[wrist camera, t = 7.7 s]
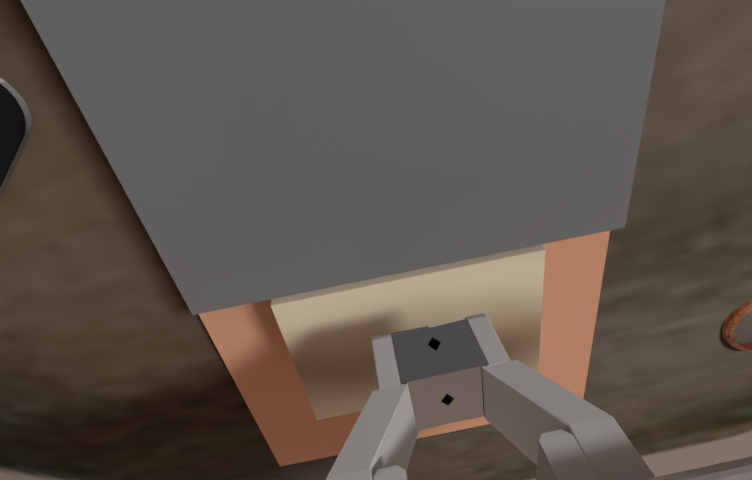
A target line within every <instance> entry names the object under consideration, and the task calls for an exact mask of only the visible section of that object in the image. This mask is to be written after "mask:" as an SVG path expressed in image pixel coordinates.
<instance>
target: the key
mask: <svg viewBox="0 0 752 480" xmlns="http://www.w3.org/2000/svg"><path fill="white" fill-rule="evenodd" d="M750 312H752V300H751V301H749V302H747V303H745V304H743V305H741V306H739V307H738V308H737V309H735V310H734V311H733V312H732V313H731V314H730V315H729V316H728V317H727V319H726V320H725V322H724V324H723V327H722V335H723V338H724V339H725V341H726V342H727V343H728V344H729V345H731V346H732V347H734V348H736V349H739V350H742V351H748V352H752V343H749V344H741V343H737V342H736V341H735V338H734V329H735V327H736V325H737V324H738V322H739V321H740V320H741V319H742V318H743V317H744V316H745V315H747V314H748V313H750Z"/></svg>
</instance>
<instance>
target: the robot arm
mask: <svg viewBox="0 0 752 480" xmlns="http://www.w3.org/2000/svg"><path fill="white" fill-rule="evenodd" d="M391 336H392V338H391ZM392 341H393V342H392ZM371 343H372V350H373V357H374V364H375V371H376V379H377V386H378V390H374V391H372V392H371V394H370V396H369V398H368V400H367V402H366V404H365V406H364V408H363V410H362V411H361V413H360V415H359V417H358V419H357V421H356V423H355V425H354V427H353V429H352V431H351V432H350V434H349V436H348V438H347V440H346V442H345V444H344V446H343V448H342V450H341V451H340V453H339V455H338V457H337V459H336V461H335V463H334V465H333V467H332V469H331V471H330V472H329V474H328V476H327V478H326V480H408V478H407V474H406V470H407V467H408V464H409V461H410V457H411V454H412V451H413V448H414V445H415V442H416V438H417V435H418V431H420V430H424V429H428V428H432V427H436V426H440V425H444V424H448V423H453V422H458V421H463V420H469V419H474V418H479V417H485V419H486V420H487V421H488V422H489V423H491V424H492V425H493V426H494V427H495V428H496V429H497V430H498V431H499V432H501V433H502V434H503V435H504V436H505V437H506V438H507V439H508V440H509V441H510V442H512V443H513V444H514V445H515V446H516V447H517V448H518V449H519V450H520V451H522V452H523V453H524V454H525V455H526V456H527V457H528V458H529V459H530V460H531V461H533V462H534V463H535V464H536V465H537V476H536V480H752V457H747V458H743V459H738V460H733V461H729V462H724V463H720V464H715V465H711V466H706V467H701V468H697V469H692V470H688V471H683V472H678V473H674V474H669V475H665V476H660V477H655V476H654V474H653V473H652V472H651V470H650V469H649V467H648V466H647V465H646V463H645V462H644V460H643V459H642V457H641V456H640V455H639V453H638V452H637V450H636V449H635V448H634V446H633V445H632V443H631V442H630V441H629V439H628V438H627V436H626V435H625V433H624V432H623V431H622V429H621V428H620V426H619V425H618V424H617V422H616V421H615V419H614V418H613V417H612V416H610V415H609V414H607V413H605V412H604V411H602V410H600V409H599V408H597V407H595V406H594V405H592V404H590V403H589V402H587V401H585V400H584V399H582V398H580V397H579V396H577V395H575V394H574V393H572V392H570V391H569V390H567V389H565V388H564V387H562V386H560V385H559V384H557V383H555V382H554V381H552V380H550V379H549V378H547V377H545V376H544V375H542V374H540V373H539V372H537V371H535V370H534V369H532V368H530V367H529V366H527V365H525V364H524V363H522V362H520V361H519V360H512V361H511V360H510V358H509V356H508V354H507V352H506V350H505V349H504V347H503V345H502V343H501V341H500V339H499V337H498V336H497V334H496V332H495V330H494V328H493V326H492V324H491V323H490V321H489V319H488V317H487V315H486V314H484V313H481V314H477V315H473V316H468V317H465V318H459V319H455V320H451V321H446V322H442V323H437V324H433V325H429V326H425V327H420V328H415V329H409V330H404V331H399V332H394V333H391V334H385V335H380V336H375V337H372V341H371Z"/></svg>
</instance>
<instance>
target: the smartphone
mask: <svg viewBox="0 0 752 480" xmlns="http://www.w3.org/2000/svg"><path fill="white" fill-rule="evenodd" d="M31 129H32V119H31V114H30V111H29V109H28V107H27V105H26V103H25V101H24V100H23V98H22V97H21V96H20V95H19V93H18V92H17V91H16V90H15V89H14V88H13V87H12V86H11V85H9V84H8V83H7V82H6V81H4V80H3V79H1V78H0V197H1V195H2V193H3V191H4V189H5V187H6V184H7V182H8V180H9V178H10V176H11V174H12V172H13V169H14V167H15V165H16V163H17V161H18V159H19V157H20V154H21V152H22V150H23V148H24V146H25V144H26V142H27V139H28V137H29V135H30V132H31Z"/></svg>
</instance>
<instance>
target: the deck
mask: <svg viewBox="0 0 752 480" xmlns="http://www.w3.org/2000/svg"><path fill="white" fill-rule="evenodd" d="M21 2H22V4H23V6H24V8H25V9H26V11H27V13H28V15H29V17H30V19H31V20H32V22H33V24H34V26H35V28H36V30H37V31H38V33H39V35H40V37H41V39H42V41H43V42H44V44H45V46H46V48H47V50H48V52H49V53H50V55H51V57H52V59H53V61H54V62H55V64H56V66H57V68H58V70H59V72H60V73H61V75H62V77H63V79H64V81H65V83H66V84H67V86H68V88H69V90H70V92H71V94H72V95H73V97H74V99H75V101H76V103H77V105H78V106H79V108H80V110H81V112H82V114H83V116H84V117H85V119H86V121H87V123H88V125H89V127H90V128H91V130H92V132H93V134H94V136H95V138H96V139H97V141H98V143H99V145H100V147H101V148H102V150H103V152H104V154H105V156H106V158H107V159H108V161H109V163H110V165H111V167H112V169H113V170H114V172H115V174H116V176H117V178H118V180H119V181H120V183H121V185H122V187H123V189H124V191H125V192H126V194H127V196H128V198H129V200H130V202H131V203H132V205H133V207H134V209H135V211H136V213H137V214H138V216H139V218H140V220H141V222H142V224H143V225H144V227H145V229H146V231H147V233H148V234H149V236H150V238H151V240H152V242H153V244H154V245H155V247H156V249H157V251H158V253H159V255H160V256H161V258H162V260H163V262H164V264H165V266H166V267H167V269H168V271H169V273H170V275H171V277H172V278H173V280H174V282H175V284H176V286H177V288H178V289H179V291H180V293H181V295H182V297H183V299H184V300H185V302H186V304H187V306H188V308H189V310H190V311H191V313H192V315H196V314H200V313H205V312H210V311H215V310H220V309H225V308H230V307H235V306H240V305H245V304H250V303H255V302H260V301H265V300H270V299H274V298H279V297H284V296H289V295H294V294H299V293H304V292H309V291H314V290H319V289H324V288H329V287H334V286H339V285H344V284H349V283H353V282H358V281H363V280H368V279H373V278H378V277H383V276H388V275H393V274H398V273H403V272H408V271H413V270H418V269H423V268H428V267H432V266H437V265H442V264H447V263H452V262H457V261H462V260H467V259H472V258H477V257H482V256H487V255H492V254H497V253H502V252H506V251H511V250H516V249H521V248H526V247H531V246H536V245H541V244H546V243H551V242H556V241H561V240H566V239H571V238H576V237H581V236H585V235H590V234H595V233H600V232H605V231H610V230H615V229H620V228H625V224H626V218H627V213H628V207H629V202H630V196H631V191H632V185H633V180H634V174H635V168H636V163H637V157H638V152H639V146H640V141H641V135H642V130H643V124H644V119H645V113H646V108H647V102H648V97H649V91H650V86H651V80H652V75H653V69H654V63H655V58H656V52H657V47H658V41H659V36H660V30H661V25H662V19H663V14H664V8H665V3H666V0H21Z"/></svg>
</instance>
